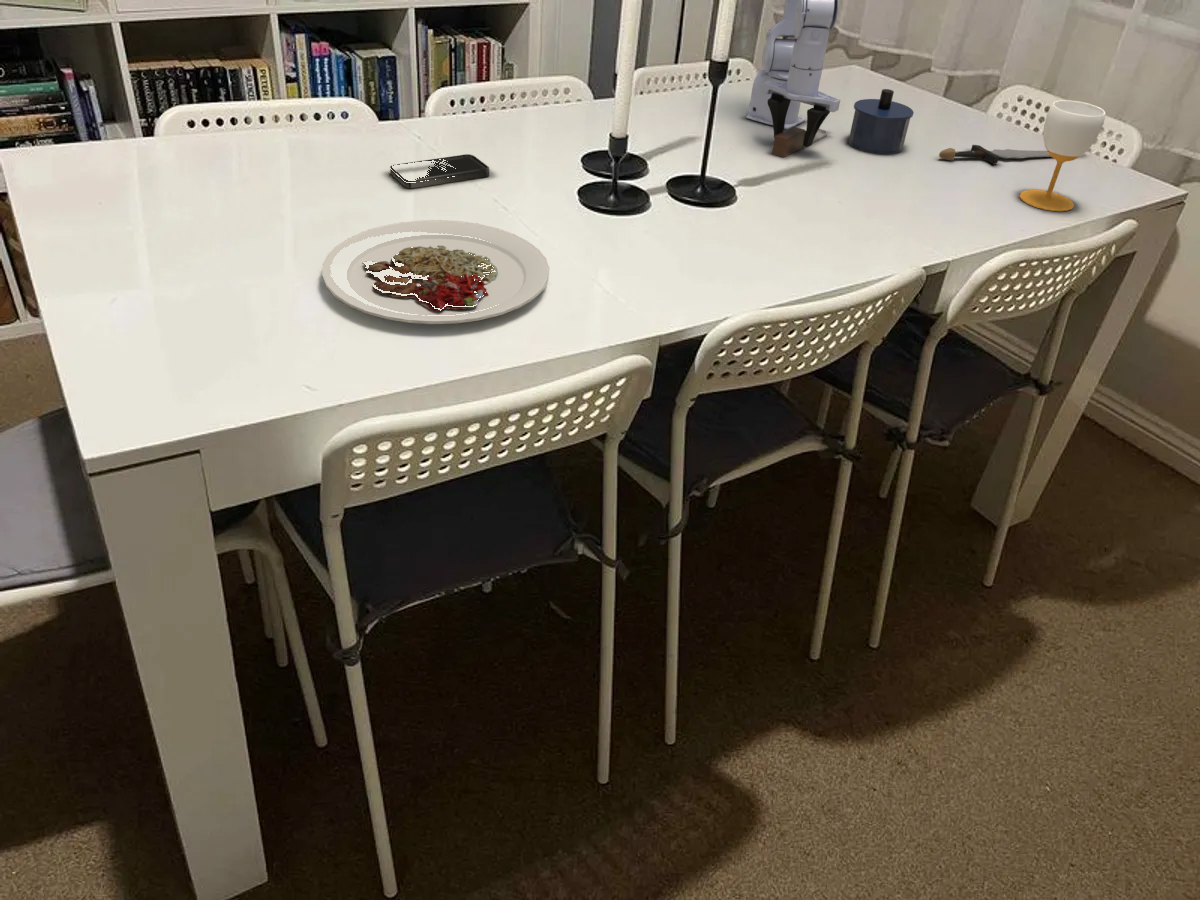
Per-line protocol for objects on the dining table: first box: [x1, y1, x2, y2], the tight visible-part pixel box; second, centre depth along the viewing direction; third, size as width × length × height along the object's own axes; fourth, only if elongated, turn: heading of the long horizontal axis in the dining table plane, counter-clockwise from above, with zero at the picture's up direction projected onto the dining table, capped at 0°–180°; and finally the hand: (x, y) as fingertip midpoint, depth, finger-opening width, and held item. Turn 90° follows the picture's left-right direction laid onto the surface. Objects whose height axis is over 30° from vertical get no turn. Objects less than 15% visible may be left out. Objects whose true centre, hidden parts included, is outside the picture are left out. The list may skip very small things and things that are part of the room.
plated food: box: [321, 219, 550, 325], centre depth 132 cm, size 30×30×3 cm
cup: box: [1019, 99, 1107, 212], centre depth 167 cm, size 9×9×16 cm
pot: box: [848, 109, 911, 155], centre depth 188 cm, size 10×10×6 cm
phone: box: [389, 153, 490, 189], centre depth 163 cm, size 8×1×15 cm
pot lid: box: [853, 88, 915, 120], centre depth 185 cm, size 11×11×4 cm
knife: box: [771, 126, 828, 158], centre depth 186 cm, size 19×3×3 cm, turn 143°
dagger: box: [938, 144, 1052, 165], centre depth 188 cm, size 8×32×2 cm, turn 98°
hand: (792, 141), depth 184 cm, fingers open, 6 cm apart
